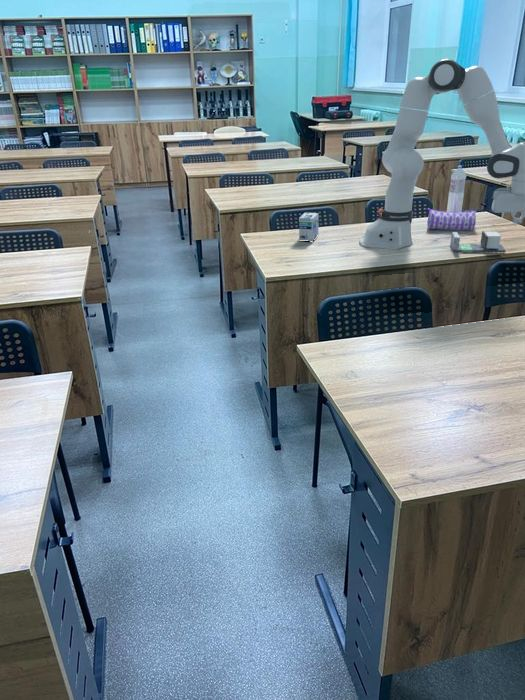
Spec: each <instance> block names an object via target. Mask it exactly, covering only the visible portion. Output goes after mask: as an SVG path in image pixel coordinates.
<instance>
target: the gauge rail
mask: <svg viewBox="0 0 525 700" xmlns="http://www.w3.org/2000/svg"><path fill="white" fill-rule="evenodd" d="M460 241H461V236H460V234H459V233H458V232H457V231H451V236H450V244H449V248H450V250H451V252H452V253H459V252H460V253H461V252H462V253H461V254H464V253H463V252H505V253H506V249H505V247H504V246H503V244H499V248H486V249H484V248H483V246H482V245H481V243H477V244H476V243H475V244H474V243H460ZM460 253H459V254H460Z"/></svg>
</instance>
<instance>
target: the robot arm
mask: <svg viewBox="0 0 525 700" xmlns="http://www.w3.org/2000/svg"><path fill="white" fill-rule="evenodd" d="M451 91H455V92H457V93H458V95H459V96H460V98H461V101H462V105H463V107H464V111H465V112H466V115H467V116H468V118H469V120H470V122H472V124H473V123H474V124H475V125H476V126H478V127H479V128H480V129H482V131H483V133H484V134H485V137H486V140H487V142H488V145H489V146H490V150H491V157H490V158H489V159H488V161H487V165H486V170H487V173H488V175H490V177H492V178H494V179H504V178H505V179H506V178H511V180H510V181H511V182H510V187H498V188H497V189H495V190H494V191H493V195H492V198H493V200H492V204H491V210H492V212H493V213H495V214H496V213H497V214H498V213H499V214H500V213H501V214H503V213H510V215H511V217H512V224H522V223H523V219H524V218H525V141H520V142H519V143H517V144H516V145H514V146H512V145H511V144H510V143H509V141H508V138H507V136H506V133H505V130H504V128H503V125H502V122H501V118H500V111H499V103H498V99H497V96H496V92H495V89H494V86H493V84H492V81H491V80H490V77H489V75H488V74H487V71H486V70H485V68H484V67H482V66H480V65H472V66H470V67H468V68H464V67H463V66H462V65H460V64H459V63H458V62H457V61H455V60H453V59H450V58H443V59H440V60H438V61H437V62H435V63H434V64H433V66H432V67H431V69H430V71H429V73H428V75H426V76H422V77H421V76H417V77H413V78H411V79H410V80H409V81H408V82H407V84H406V86H405V89H404V92H403V95H402V97H401V102H400V105H399V110H398V113H397V118H396V123H395V126H394V131H393V133H392V135H391V138H390V139H389V143H388V145H387V147H386V149H385V150H384V151H383V153H382V157H381V161H382V165H383V167H384V168H385V170H386V171H387V172H388V173H391V177H390V182H389V184H388V186H387V189H386V190H385V201H384V209H382V208H379V209H378V210H377V212H378V214H379V215H378V216H379V218H378V219H376V220H375V221H373V222H372V223H371V224H370V225H368V226H367V227H366V229H365V232H364V236H361V237H360V238H359V245H360V246H361V247H365V248H378V249H389V250H390V249H392V250H398V249H401V248H405V247H408V246H411V245H413V238H412V227H411V225H412V221H413V213H414V212H413V209H412V208H413V198H414V191H415V187H416V184H417V181H418V177H419V175H420V174H421V172H423V170H424V166H425V165H424V164H425V162H424V159H423V157H422V155H421V154H420V153H419V152H418V151H417V150H416V149H415V147H416V145H417V143H418V141H419V139H420V137H421V136H422V135H423V134H424V132H425V126H426V123H427V120H428V119H427V118H428V115H429V110H430V108H431V107H430V106H431V102H432V100H433V97H434V96H435V95H438V94H446V93H449V92H451ZM517 213H520V214H521V215H520V216H519V217H516V215H517Z"/></svg>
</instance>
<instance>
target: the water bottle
mask: <svg viewBox="0 0 525 700" xmlns="http://www.w3.org/2000/svg"><path fill="white" fill-rule="evenodd" d="M462 168H463V166H462V165H457V169H455V170H454V171H453V172H452V173H451V176H450V185H449V191H448V198H447V199H448V200H447V207H446V212H463V211H462V210H463V209H462V208H463V202H464V195H465V185H466V179H467V174H466V172H465V171H464V169H462Z"/></svg>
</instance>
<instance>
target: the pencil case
mask: <svg viewBox="0 0 525 700" xmlns="http://www.w3.org/2000/svg"><path fill="white" fill-rule="evenodd" d="M427 211H429V212H428V217H427V223H426V224H427V229H429V230H446V231H447V230H449V231H474V230H475V227H476V222H477V221H476V218H477V217H476V213H477V211H478V210H477V209H475V210H473V209H471V210H466V211H465V210H464V211H461V212H447V210H446V211H442V210H436V209H433V208H432V209H431V208H429V207H428V208H427Z"/></svg>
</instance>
